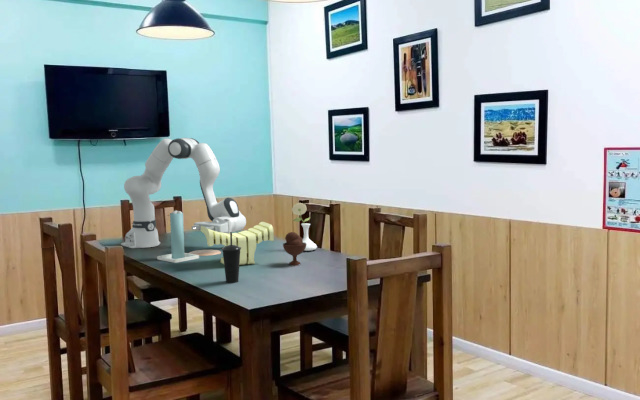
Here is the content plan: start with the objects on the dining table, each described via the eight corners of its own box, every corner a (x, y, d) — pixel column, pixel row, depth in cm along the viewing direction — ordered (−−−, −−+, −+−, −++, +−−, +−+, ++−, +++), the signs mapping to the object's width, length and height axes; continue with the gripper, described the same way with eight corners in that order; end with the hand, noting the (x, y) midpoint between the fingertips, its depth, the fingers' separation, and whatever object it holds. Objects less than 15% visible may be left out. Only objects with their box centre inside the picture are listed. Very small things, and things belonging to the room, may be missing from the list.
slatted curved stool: (210, 269, 255) (209, 229, 254) (201, 263, 270) (200, 225, 268) (274, 263, 268) (273, 225, 266) (262, 257, 282) (262, 221, 281)
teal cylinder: (169, 258, 278) (167, 211, 275) (179, 257, 282) (177, 209, 280) (176, 260, 274) (175, 211, 272) (187, 258, 278) (185, 210, 276)
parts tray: (157, 260, 277) (157, 256, 277) (181, 256, 288) (181, 252, 288) (175, 264, 268) (175, 259, 268) (199, 259, 279) (199, 255, 279)
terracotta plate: (182, 254, 292) (182, 252, 292) (207, 250, 304) (207, 248, 304) (202, 258, 282) (202, 256, 282) (227, 253, 294) (227, 251, 294)
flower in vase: (318, 248, 306) (317, 201, 304) (315, 252, 295) (315, 203, 292) (293, 248, 307) (293, 201, 305) (290, 252, 296) (289, 203, 294)
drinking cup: (223, 279, 235) (222, 231, 233) (242, 279, 236) (241, 230, 234) (221, 284, 228) (220, 233, 226) (241, 283, 228) (240, 233, 226)
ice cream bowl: (304, 266, 259) (303, 233, 257) (279, 266, 261) (279, 233, 260) (309, 262, 269) (308, 230, 268) (286, 261, 271) (285, 229, 270)
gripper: (206, 218, 303) (185, 221, 293) (232, 220, 290) (211, 223, 280) (206, 230, 304) (185, 233, 293) (233, 233, 291) (212, 236, 280)
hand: (198, 228), depth 286 cm, fingers open, 8 cm apart
